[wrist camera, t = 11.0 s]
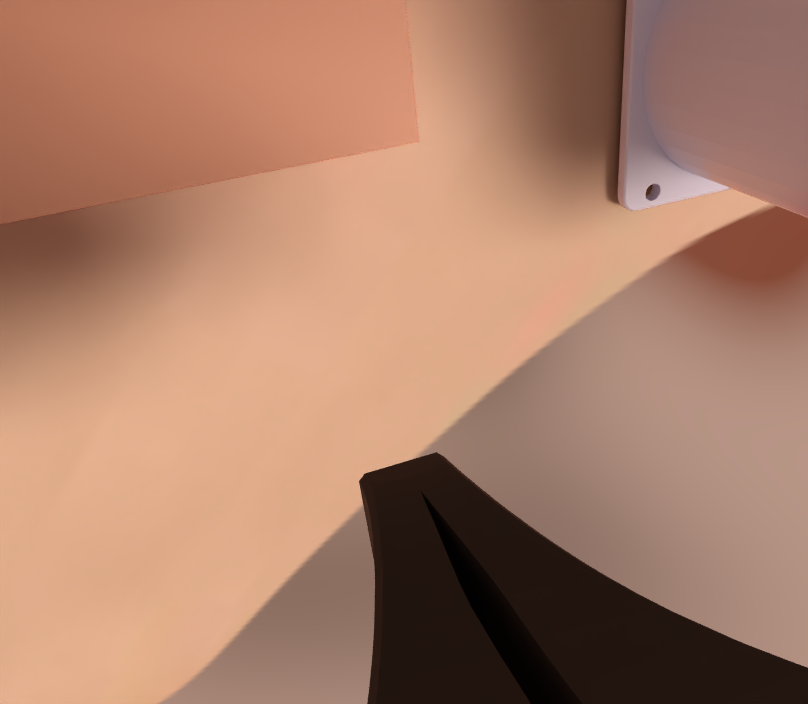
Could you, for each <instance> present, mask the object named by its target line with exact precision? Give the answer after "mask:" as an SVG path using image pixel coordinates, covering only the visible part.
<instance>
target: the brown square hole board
mask: <svg viewBox="0 0 808 704" xmlns="http://www.w3.org/2000/svg"><path fill="white" fill-rule="evenodd" d="M416 142H419V133H418V123H417V113H416V103H415V93H414V83H413V73H412V63H411V53H410V43H409V32H408V22H407V12H406V2H405V0H0V224H5V223H10V222H15V221H20V220H25V219H30V218H35V217H40V216H45V215H50V214H55V213H61V212H66V211H71V210H76V209H81V208H86V207H91V206H96V205H101V204H106V203H111V202H116V201H121V200H126V199H132V198H137V197H142V196H147V195H152V194H157V193H162V192H167V191H172V190H177V189H182V188H187V187H192V186H197V185H203V184H208V183H213V182H218V181H223V180H228V179H233V178H238V177H243V176H248V175H253V174H258V173H263V172H268V171H274V170H279V169H284V168H289V167H294V166H299V165H304V164H309V163H314V162H319V161H324V160H329V159H334V158H340V157H345V156H350V155H355V154H360V153H365V152H370V151H375V150H380V149H385V148H390V147H395V146H400V145H405V144H411V143H416Z"/></svg>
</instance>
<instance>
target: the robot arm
mask: <svg viewBox="0 0 808 704" xmlns="http://www.w3.org/2000/svg"><path fill="white" fill-rule="evenodd" d="M650 185H653V188H652V192H651V193H650V194H649V195H648V196H646V195H645V193H646V190H647V188H648V187H649V186H650ZM727 189H734V190H737V191H739V192H742V193H744V194H747V195H750V196H752V197H755V198H758V199H760V200H763V201H765V202H768V203H771V204H773V205H776V206H779V207H781V208H784V209H786V210H789V211H792V212H795V213H797V214H799V215H802V216H805V217H807V218H808V0H627V5H626V26H625V47H624V69H623V90H622V112H621V133H620V155H619V176H618V202H619V203H620V205H621V206H623V207H625V208H626V209H628V210H630V211H638V210H642V209H647V208H651V207H655V206H659V205H664V204H668V203H672V202H676V201H681V200H685V199H689V198H693V197H698V196H702V195H706V194H710V193H715V192H719V191H723V190H727ZM359 484H360V489H361V494H362V499H363V505H364V510H365V515H366V520H367V526H368V531H369V536H370V542H371V547H372V552H373V558H374V565H375V618H374V619H375V621H374V640H373V655H372V666H371V677H370V687H369V695H368V703H367V704H808V668H807V667H804V666H801V665H799V664H796V663H793V662H791V661H788V660H785V659H783V658H780V657H777V656H775V655H772V654H770V653H767V652H764V651H762V650H759V649H757V648H754V647H752V646H749V645H746V644H744V643H742V642H739V641H737V640H734V639H732V638H730V637H728V636H725V635H723V634H721V633H718V632H717V631H714V630H712V629H710V628H708V627H705V626H703V625H701V624H698V623H697V622H694V621H692V620H690V619H688V618H685V617H683V616H681V615H679V614H677V613H674V612H672V611H670V610H668V609H666V608H664V607H662V606H660V605H658V604H657V603H655V602H653V601H650V600H649V599H647V598H645V597H643V596H641V595H639V594H637V593H635V592H633V591H632V590H630V589H628V588H626V587H625V586H623V585H621V584H619V583H617V582H616V581H614V580H612V579H610V578H609V577H607V576H605V575H603V574H602V573H600V572H598V571H597V570H595V569H594V568H592V567H590V566H589V565H587V564H585V563H584V562H582V561H580V560H579V559H577V558H576V557H574V556H573V555H571V554H570V553H568V552H567V551H565V550H564V549H562V548H561V547H559V546H558V545H556V544H554V543H553V542H551V541H550V540H549V539H547V538H546V537H544V536H543V535H541V534H540V533H539V532H537V531H536V530H534V529H533V528H532V527H530V526H529V525H528V524H526V523H525V522H523V521H522V520H521V519H520V518H518V517H517V516H515V515H514V514H513V513H511V512H510V511H509V510H507V509H506V508H505V507H503V506H502V505H501V504H499V503H498V502H497V501H495V500H494V499H493V498H492V497H490V495H488V494H487V493H486V492H484V491H483V490H482V489H481V488H480V487H478V486H477V485H476V484H475V483H474V482H472V481H471V480H470V479H469V478H467V477H466V476H465V475H464V474H463V473H461V471H459V470H458V469H457V468H456V467H455V466H454V465H453V464H451V463H450V462H449V461H448V460H447V459H446V458H445V457H444V456H442V455H440V454H438V453H437V452H436V453H433V454H430V455H426V456H423V457H419V458H416V459H413V460H409V461H406V462H403V463H399V464H396V465H392V466H389V467H386V468H382V469H379V470H376V471H372V472H369V473H366V474H364V476H363V477H362V478H361V479H360V481H359Z"/></svg>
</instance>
